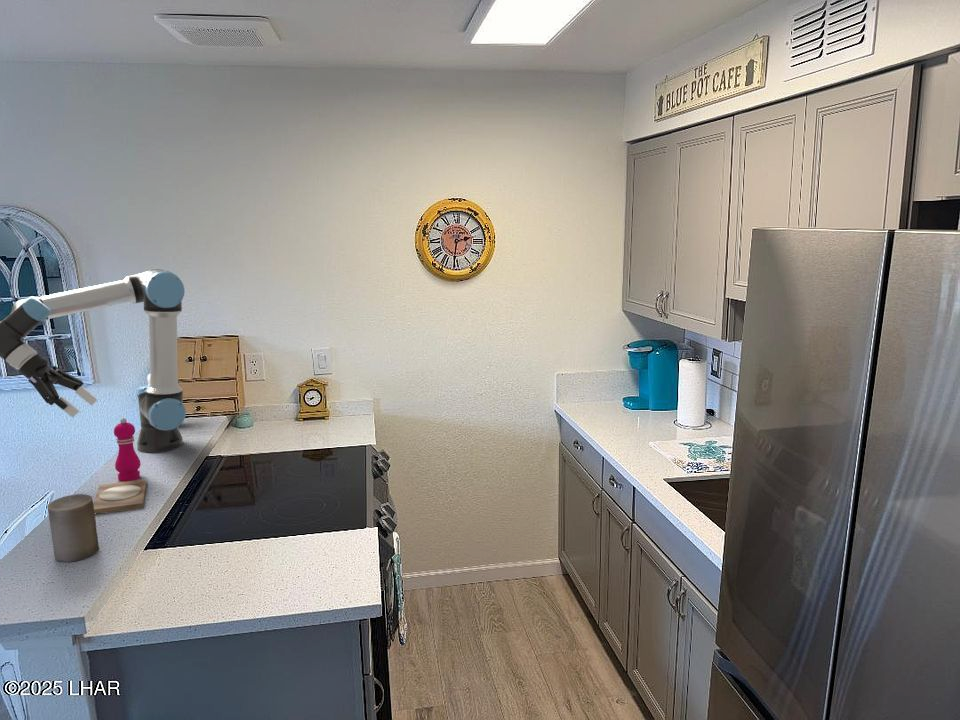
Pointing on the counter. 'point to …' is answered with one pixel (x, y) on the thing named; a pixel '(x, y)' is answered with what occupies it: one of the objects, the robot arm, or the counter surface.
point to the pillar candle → (73, 527)
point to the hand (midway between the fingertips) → (86, 408)
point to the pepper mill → (126, 452)
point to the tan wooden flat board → (120, 496)
